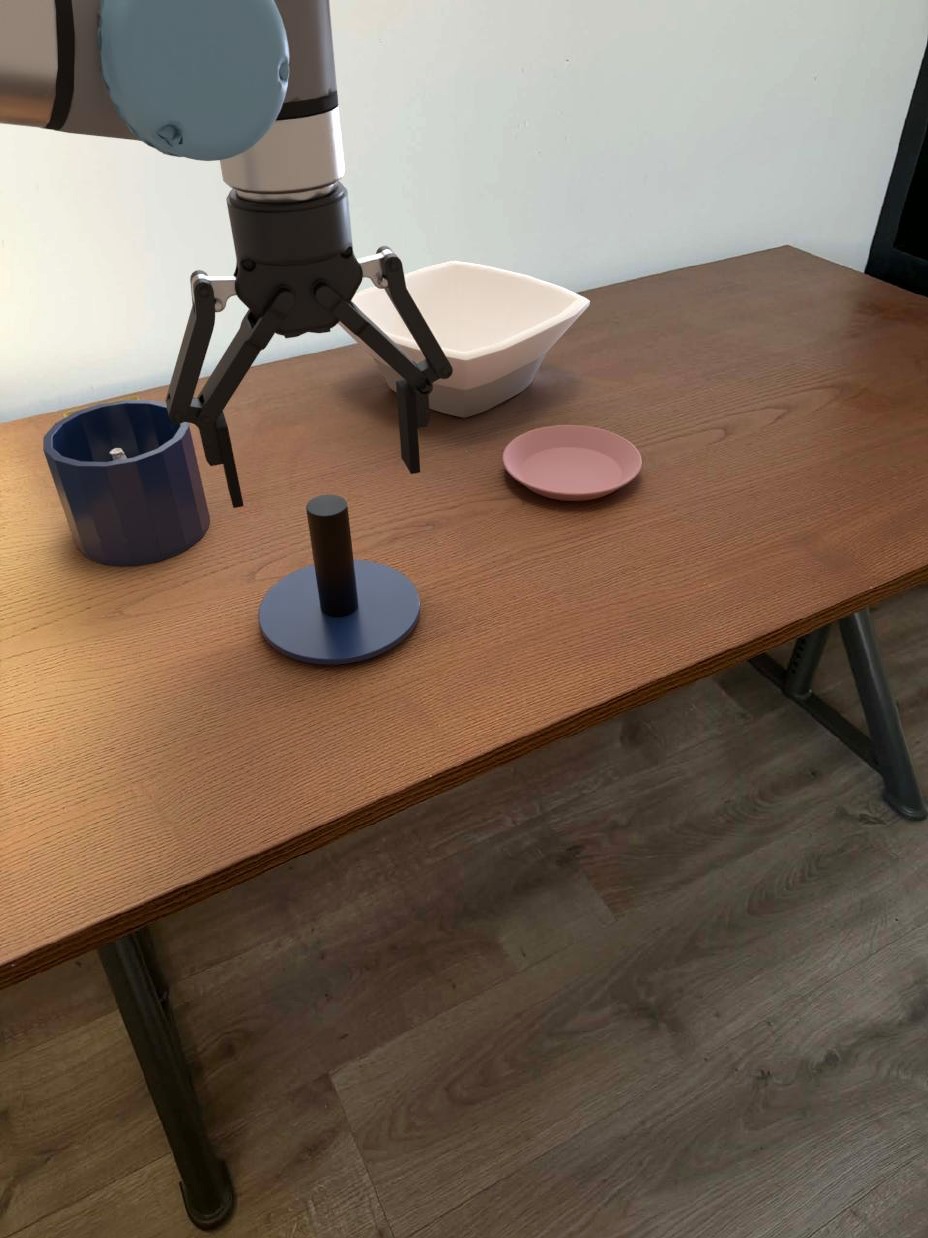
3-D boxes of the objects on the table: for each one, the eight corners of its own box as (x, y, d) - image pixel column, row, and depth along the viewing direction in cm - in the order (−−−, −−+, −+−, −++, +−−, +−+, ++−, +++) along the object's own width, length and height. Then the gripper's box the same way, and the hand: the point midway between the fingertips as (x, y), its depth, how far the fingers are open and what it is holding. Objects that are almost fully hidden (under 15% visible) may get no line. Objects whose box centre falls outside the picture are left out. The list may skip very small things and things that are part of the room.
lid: (275, 687, 73) (252, 571, 66) (248, 588, 83) (226, 478, 76) (441, 648, 76) (436, 534, 69) (396, 557, 86) (388, 449, 79)
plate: (612, 524, 90) (614, 506, 89) (479, 491, 95) (479, 474, 94) (657, 457, 100) (660, 440, 99) (534, 430, 105) (535, 414, 104)
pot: (77, 577, 85) (42, 477, 78) (75, 507, 94) (43, 412, 87) (217, 550, 88) (195, 451, 81) (201, 485, 97) (180, 390, 90)
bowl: (317, 392, 113) (307, 309, 107) (457, 330, 128) (455, 253, 121) (465, 456, 101) (464, 366, 94) (602, 379, 115) (608, 296, 108)
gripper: (457, 150, 64) (463, 431, 77) (74, 191, 58) (154, 487, 71) (495, 177, 58) (495, 474, 72) (77, 225, 52) (162, 539, 66)
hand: (325, 481), depth 71 cm, fingers open, 13 cm apart
